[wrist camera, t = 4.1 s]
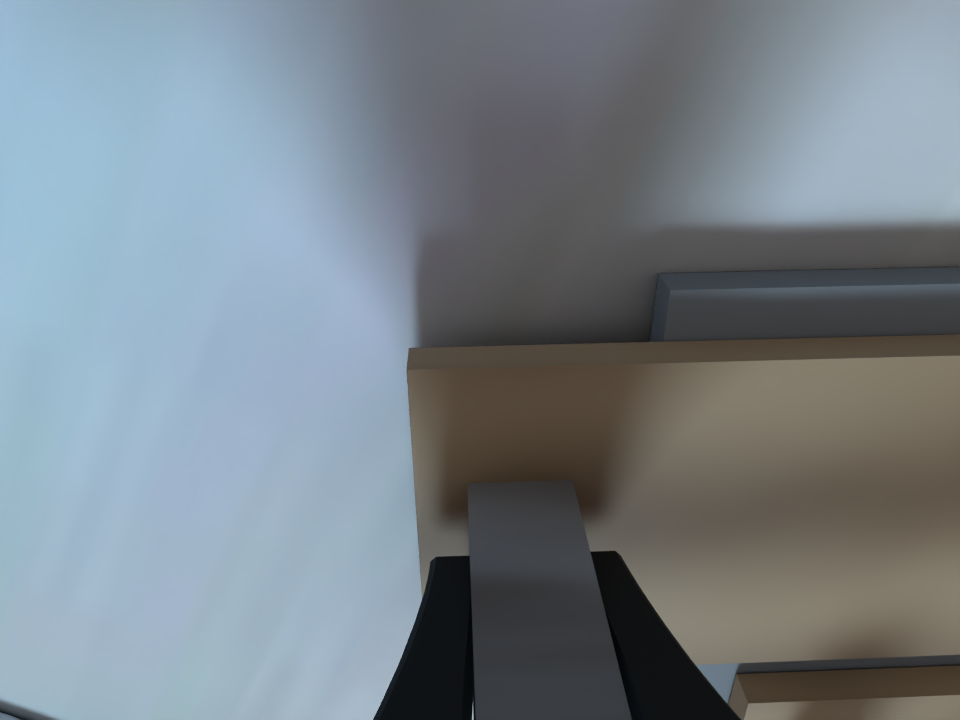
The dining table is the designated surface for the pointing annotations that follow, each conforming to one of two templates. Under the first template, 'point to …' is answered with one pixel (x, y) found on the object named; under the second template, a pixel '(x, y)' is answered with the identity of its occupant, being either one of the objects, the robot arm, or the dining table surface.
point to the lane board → (807, 314)
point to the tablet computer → (7, 717)
